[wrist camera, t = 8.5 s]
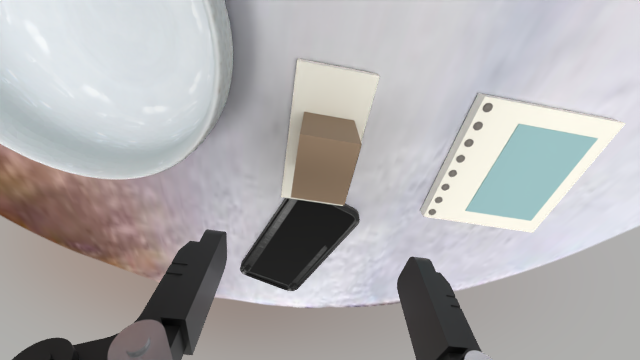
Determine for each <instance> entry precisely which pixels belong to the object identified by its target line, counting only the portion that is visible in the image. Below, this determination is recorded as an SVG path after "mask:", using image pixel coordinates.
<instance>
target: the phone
mask: <svg viewBox="0 0 640 360" xmlns="http://www.w3.org/2000/svg"><path fill="white" fill-rule="evenodd" d="M349 207H350V208H349ZM358 223H359V214H358V211H357V210H356V209H354V208H353V207H351V206H349V205H347V204H344V205H343V206H339V205H332V204H325V203H319V202H312V201H305V200H298V199H291V198H285V200H284V201H283V203H282V204H281V206H280V207H279V209H278V210H277V211H276V213H275V214H274V216H273V217H272V219H271V220H270V222H269V223H268V225H267V226H266V228H265V229H264V231H263V232H262V233H261V235H260V236H259V238H258V239H257V241H256V242H255V244H254V245H253V247H252V248H251V250H250V251H249V253H248V254H247V255H246V257H245V258H244V260H243V261H242V264H241V267H240V271H241V272H242V273H243V274H245V275H247V276H249V277H252V278H255V279H257V280H260V281H263V282H265V283H268V284H271V285H273V286H276V287H279V288H281V289H284V290H287V291H294V290H297V289H298V288H299V287H300V286H301V285H302V284H303V283H304V281H305V280H306V279H307V278H308V277H309V276H310V275H311V274H312V273H313V272H314V271H315V270H316V269H317V268H318V267H319V265H320V264H321V263H322V262H323V261H324V260H325V259H326V258H327V257H328V256H329V255H330V254H331V253H332V252H333V251H334V249H335V248H336V247H337V246H338V245H339V244H340V243H341V242H342V241H343V240H344V239H345V238H346V237H347V236H348V235H349V233H350V232H351V231H352V230H353V229H354V228H355V227H356V226H357V225H358Z"/></svg>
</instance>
